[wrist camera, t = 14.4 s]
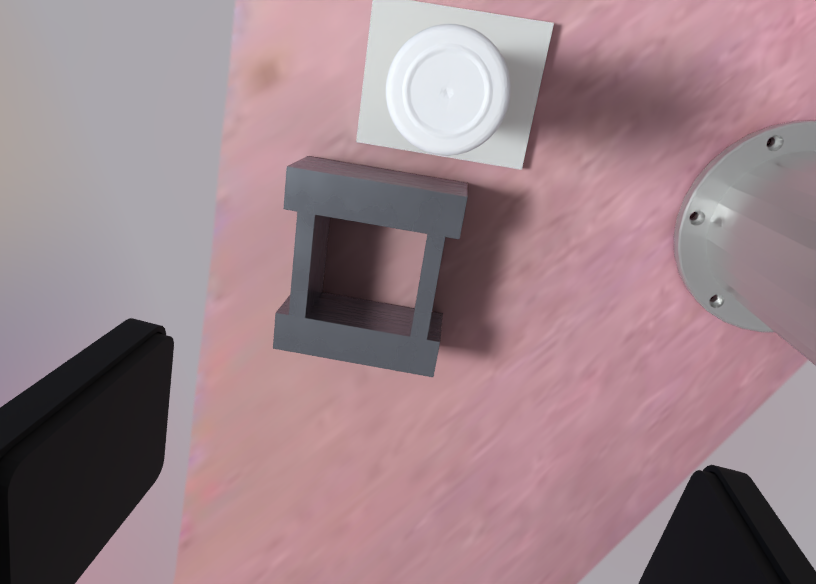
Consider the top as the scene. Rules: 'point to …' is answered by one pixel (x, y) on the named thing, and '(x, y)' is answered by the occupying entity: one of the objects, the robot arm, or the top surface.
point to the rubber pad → (511, 35)
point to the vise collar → (351, 317)
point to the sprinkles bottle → (448, 89)
